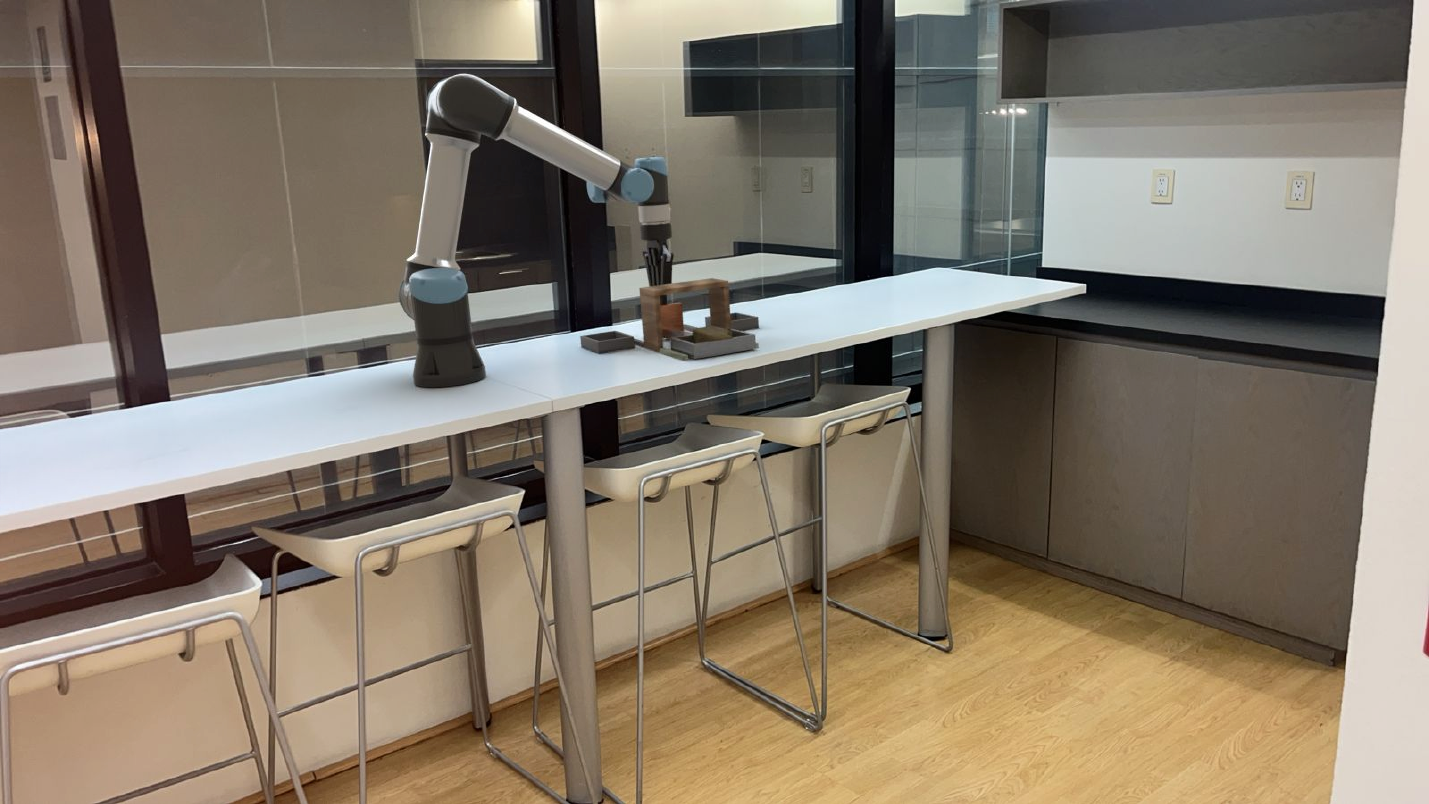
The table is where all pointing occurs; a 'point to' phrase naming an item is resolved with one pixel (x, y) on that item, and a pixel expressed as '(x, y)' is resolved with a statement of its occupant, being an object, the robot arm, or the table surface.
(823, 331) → the table surface
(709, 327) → the stone block
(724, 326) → the tunnel
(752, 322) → the pit tray far
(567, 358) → the table surface
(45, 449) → the table surface
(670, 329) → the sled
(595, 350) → the tray
